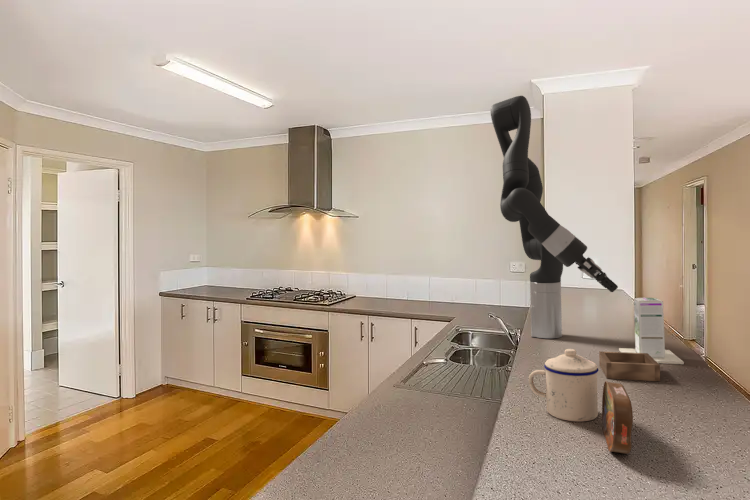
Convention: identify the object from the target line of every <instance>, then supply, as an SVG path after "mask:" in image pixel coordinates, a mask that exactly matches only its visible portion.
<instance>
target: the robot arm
mask: <svg viewBox="0 0 750 500" xmlns="http://www.w3.org/2000/svg"><path fill="white" fill-rule="evenodd" d="M490 117H491V118H490V119H491V122H492V126H493V128H494V132H495V135H496V137H497V141H498V144H499V146H500V150H501V152H502V157H503V161H502V180H503V185H502V189H501V195H500V204H499V205H500V213H501V214H502V217H503V218H504V219H505V220H506V221H508V222H510V223H517V222H519V229H520V234H521V236H520V237H521V242H522V247H523V250H524V252H525V255H526V256H527V258H529V259H530V260H533V261H540V266H539V267H538V268H537V270H534V271H532V272H531V273H530V275H529V291H530V292H529V293H530V299H529V300H530V336H531V338H538V339H539V338H540V339H558V338H559V339H560V338H562V337H563V324H562V323H563V322H562V320H563V319H562V317H563V315H562V314H563V313H562V275H563V271H564V266H565V267H566V268H570V267H571V266H572V265H574V263H575V265H578V266H577V269H578V270H580V272H582V273H584V274H585V275H586V276H588V277H589V278H590V279H593V280H595V281H596V282H598V283H599V284H600V285H601V286H602V287H603V288H605V289H607V291H609V292H610V293H614V292H615V291H616V290H618V287H619V286H618V284H616V283H615V282H614V281H613V280H612V279H610V278H609V277H608V275H607V273H606V272H604V271H603V269H602V268H601V267H600V266H599V265H598V264H596V263H595V261H594V260H593V259H592V258H591V257H589V256H588V257H587V258H586V257H585V256H584V254H585V252H586V251H587V250H588V246H587V245H586V244H585V243H584V242H582V241H581V239H579V238H578V237H576V235H575V234H574V233H572V232H571V231H570V230H568V229H567V228H566V227H565V226H563V225H562V224H560V223H559V222H558V220H557V221H556V219H555V218H553V217H552V216H551V215H550V214H549V213H548V212H547V210H546V208H545V206H543V204H542V202H541V201H542V196H543V192H544V190H543V189H544V188H543V187H544V186H543V182H542V177H541V174H540V171H539V167H538V166H537V164H536V163H534V162H533V160H532V159H531V158H529V146H530V137H531V136H530V135H531V125H532V112H531V107H530V103H529V101H528V99H527V98H526V97H525V96H524V95H518V96H513V97H511V98H508V99H505V100H502V101H499V102H496V103H494V104H493V105H491V108H490ZM514 130H516V131H515V132H516V134H515V135H514V138H513V139H512V137H511V135H510V132H511V131H514Z"/></svg>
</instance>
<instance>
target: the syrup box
mask: <svg viewBox="0 0 750 500" xmlns="http://www.w3.org/2000/svg"><path fill="white" fill-rule="evenodd" d="M633 315H634V316H633V319H634V320H633V321H634V346H635V347H634V349H635V352H636V353H648V354H649V355H650V356H651V357H652V358H665V350H666V345H665V337H666V336H665V316H664V301H663V300H661V299H660V298H657V297H634V298H633Z"/></svg>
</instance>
